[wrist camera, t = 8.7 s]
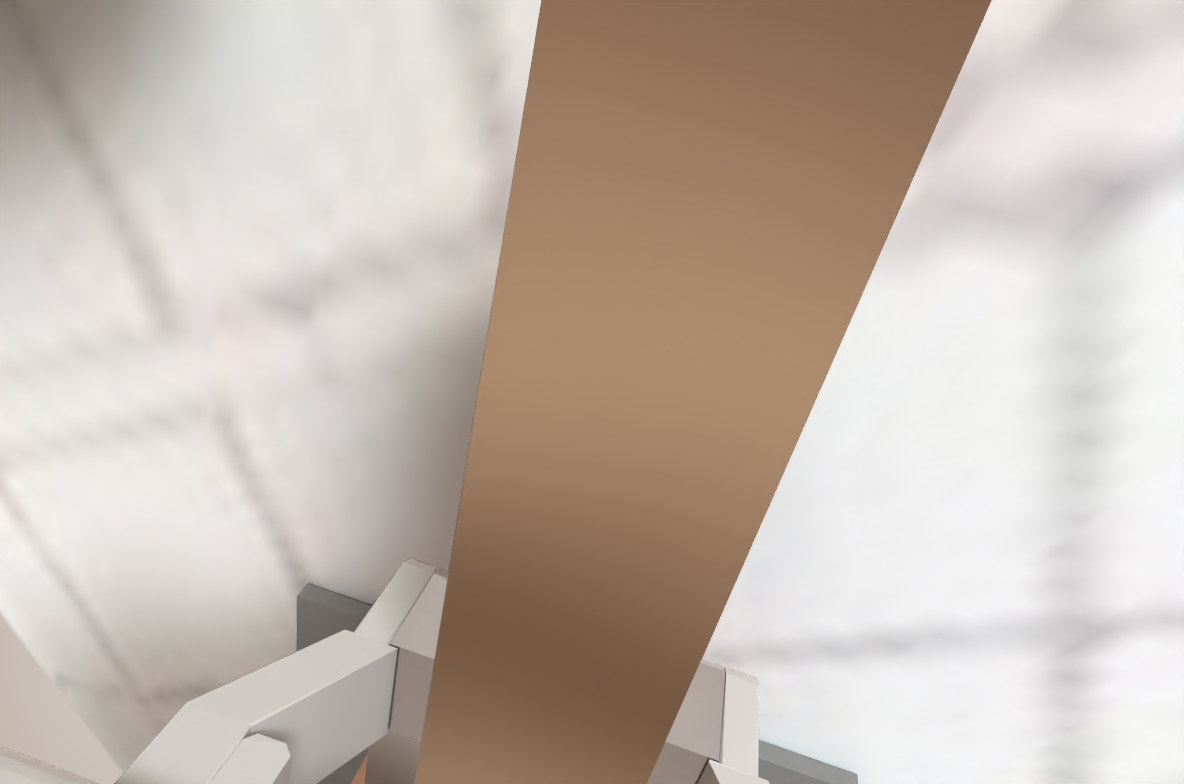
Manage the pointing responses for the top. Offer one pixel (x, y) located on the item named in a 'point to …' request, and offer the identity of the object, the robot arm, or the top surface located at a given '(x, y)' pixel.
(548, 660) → the turner
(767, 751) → the mat
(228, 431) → the top surface
